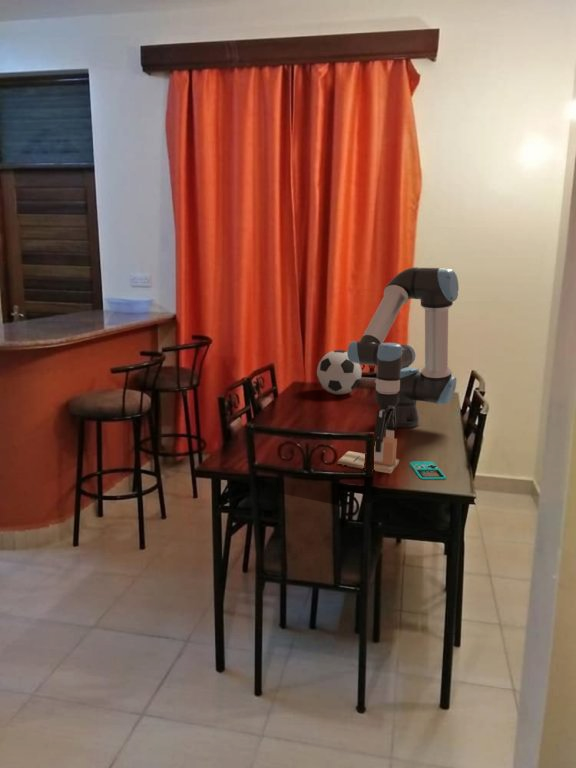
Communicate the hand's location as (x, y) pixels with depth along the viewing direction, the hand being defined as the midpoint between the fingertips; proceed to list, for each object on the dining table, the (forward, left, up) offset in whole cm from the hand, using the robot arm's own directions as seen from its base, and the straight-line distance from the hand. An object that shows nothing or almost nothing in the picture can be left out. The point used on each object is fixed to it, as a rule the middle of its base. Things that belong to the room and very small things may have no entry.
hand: (383, 454), depth 190 cm
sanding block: (0, 0, -3) cm, 3 cm away
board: (0, -5, -4) cm, 6 cm away
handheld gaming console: (-3, +14, -5) cm, 15 cm away
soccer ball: (-88, -47, -4) cm, 99 cm away
